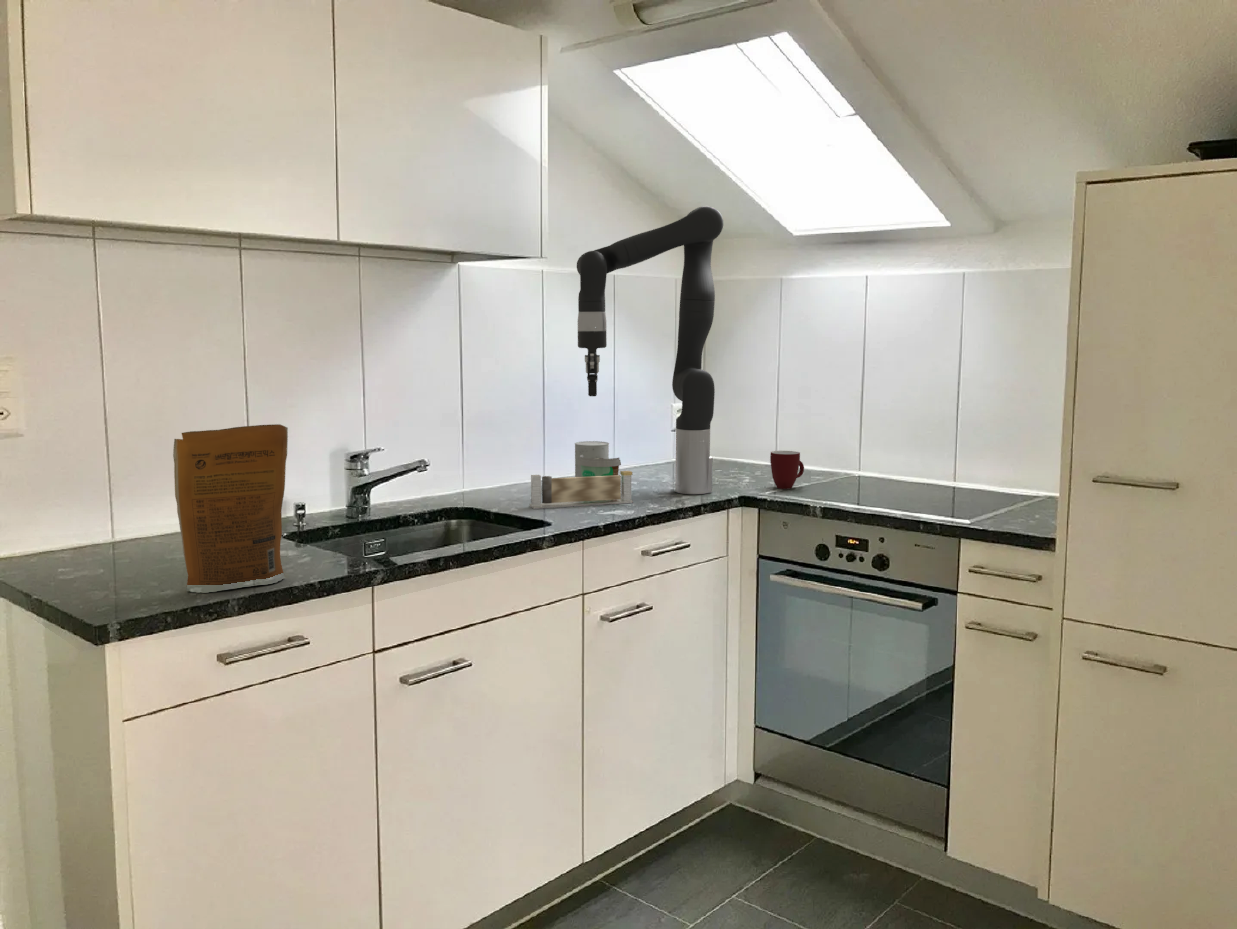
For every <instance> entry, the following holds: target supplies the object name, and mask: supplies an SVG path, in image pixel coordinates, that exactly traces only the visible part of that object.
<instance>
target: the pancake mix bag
mask: <svg viewBox="0 0 1237 929" xmlns="http://www.w3.org/2000/svg"><path fill="white" fill-rule="evenodd" d="M288 431H289V428H288V427H287V426H286V425H282V424H280V423H278V424H277V423H276V424H275V423H274V424H257V425H244V426H235V427H229V428H223V429H208V430H207V429H206V430H194V431H193V430H192V431H185V432H181V438H182V439H181V438H174V442H173V453H172V456H173V457H172V458H173V465H174V467H173V470H174V471H173V473H174V474H173V475H174V477H173V478H174V496H175V501H176V510H177V511H176V512H177V513H176V514H177V517H178V522H179V530H180V535H181V543H182V552H183V558H184V562H185V568H186V572H187V581H186V586H187V585H223V584H231V583H237V582H245V581H250V580H256V579H266V578H270V577H273V576H275V575H278V574H281V573H284V569H283V565H282V558H281V543H282V537H283V536H282V535H283V529H282V528H283V524H282V523H283V522H282V520H283V519H282V515H283V514H282V508H283V503H284V502H283V501H284V497H285V488H286V471H287V470H286V469H287V467H286V465H287V458H288V441H289V439H288V437H289V436H288ZM284 574H285V573H284Z"/></svg>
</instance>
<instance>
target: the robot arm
mask: <svg viewBox="0 0 1237 929" xmlns="http://www.w3.org/2000/svg"><path fill="white" fill-rule="evenodd" d="M723 227H724V218H723V215H722V213H721V212H720V211H719V210H718V209H716V208H715V207H712V206H709V205H704V206H703V205H702V206H698V207H697V208H695V209H693V210H691V211H690V212H688V213H687V215H686V216H684V217H682V218H680V219H678V220H676V221H674V222H671V223H668V224H666V225H663V226H660V227H657V228H653V229H651V230H647V231H644V232H641V233H637V234H634V235H631V236H629V237H626V238H623V239H620V240H618V241H615V242H614V243H612V244H610V245H608V246H607V245H606V246H603V247H601V248H597V249H594V250H589V251H586V252H584V253H583V254H581V255H580V256H579V258H578V259H577V262H576V271H577V273H578V275H579V276H580V277H579V278H580V280H579V281H580V283H579V288H580V289H579V292H578V297H577V299H578V301H577V302H578V304H577V305H578V306H577V308H578V314H577V347H578V348H579V349H587V354H585V355H584V363H585V373H586V375H587V376H586V379H587V384H588V385H587V391H588V393H587V394H588V397H597V396H598V395H597V393H598V392H597V391H598V386H597V385H598V384H597V382H598V380H599V378H598V374H599V372H600V368H599V367H600V360H601V357H600V354H597V350H598V349H605V348H606V347H607V316H606V286H607V285H606V284H607V274H609V273H612V272H615V271H617V270H621V269H625V268H629V267H631V266H634V265H636V264H637V265H638V264H639V263H642V262H645V261H647V260H650V259H652V258H654V257H656V256H659V255H661V254H664V253H666V252H668V251H670V250H673V249H676V248H679V247H683V259H684V260H683V269H682V276H681V284H680V297H679V310H678V331H677V347H676V348H677V349H676V356H675V363H674V370H673V375H672V381H671V382H672V384H671V386H672V387H671V388H672V391H673V395H674V396H675V398H676V399H677V400H679V401H681V412H680V415H678V416H677V418H676V420H675V421H676V422H675V472H674V473H675V479H674V480H675V484H674V485H675V486H674V487H675V488H674V491H675V493H678V494H684V495H703V494H704V495H705V494H709V493H713V478H714V477H713V476H714V475H713V473H714V472H713V470H714V469H713V463H714V460H713V459H714V458H713V457H712V456H711V451H710V450H711V423H712V421H713V417H714V411H715V410H714V408H715V395H716V394H715V392H716V391H715V382H714V379H713V377H712V375H711V373H709V372H708V371H707V370H704V369H702V363H703V362H702V360H703V359H702V358H703V352H704V351H703V350H704V346H705V344H706V340H707V339H708V336H709V333H710V331H711V328H712V326H713V322H714V316H715V313H714V312H715V303H716V302H715V301H716V299H715V298H716V294H715V293H716V292H715V284H714V277H713V272H712V253H713V244H714V241H715V239H717V238H718V237H719V236H720V234H721V233H722V231H723V229H724V228H723Z"/></svg>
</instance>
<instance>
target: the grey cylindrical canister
mask: <svg viewBox="0 0 1237 929" xmlns="http://www.w3.org/2000/svg"><path fill="white" fill-rule="evenodd" d="M609 444H610V443H609V442H607V441H598V440H596V441H595V440H593V441H588V440H586V441H578V442H574V477H582V475H581V465H579V464H578V461H579V458H580V456H581V455H583V458H590V459H594V458H603V459H610V456H609V455H610V454H609V452H610V451H609V450H610V449H609V447H610V445H609Z"/></svg>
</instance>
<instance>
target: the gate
mask: <svg viewBox="0 0 1237 929" xmlns="http://www.w3.org/2000/svg"><path fill="white" fill-rule="evenodd" d="M617 499H621V474H618V475H614V476H591V477H575V476H574V477H570V476H569V477H553V476H550V475H543V476H541V504H542V503H545V504H548V503H559V502H579V501H598V500H617Z"/></svg>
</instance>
